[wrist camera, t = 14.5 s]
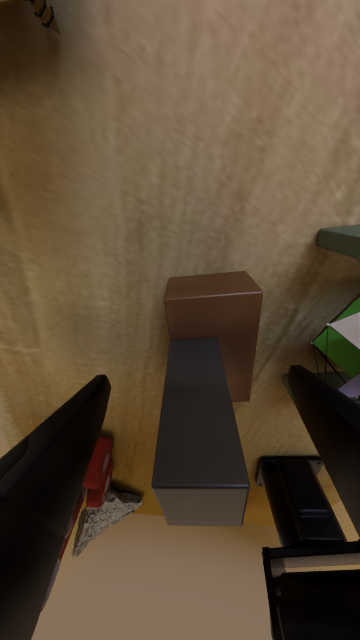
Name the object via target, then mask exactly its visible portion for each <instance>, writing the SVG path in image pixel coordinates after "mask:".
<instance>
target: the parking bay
mask: <svg viewBox="0 0 360 640" xmlns="http://www.w3.org/2000/svg"><path fill="white" fill-rule="evenodd" d="M316 245H317V246H320V247H323V248H326V249H329V250H332V251H335V252H338V253H341V254H344V255H347V256H350V257H353V258H356V259H360V225H354V226H345V227H335V228H325V229H320V231H319V235H318V239H317V244H316ZM338 373H339V375H340V376H341V377H342V378H343V380H344V381H345V382H346V383H347V382H349V381H350V380H351V379H353V378H352V377H351V376H349V375H348V374H347V373H346V372H338ZM314 374H315V375H317V376H318V377H319V376H320V378H321V379H323V380H324V381H325V373H314ZM287 377H288V375H284V378H283V383H284V385H285V387H286V389H287V391H288V393H289V395H290V397H291V399H292V400H293V402H294V404H295V406H296V403H295V401H294V398H293V395H292V392H291V390H290V387H289V384H288V381H287ZM326 382H327V383H329V384H330V385H332V386H333V387H335V388H336V389H339V388H341V387H342V386H343V385H345V383H344V382H343V381H342V379H341V378H340V377H339V376H338V374H337V373H336V372H335V373H326ZM359 396H360V395H359ZM351 399H358V398H351ZM356 402H357V403H359V404H360V401H356ZM296 408H297V406H296ZM297 410H298V409H297Z"/></svg>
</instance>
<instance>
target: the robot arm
mask: <svg viewBox="0 0 360 640" xmlns="http://www.w3.org/2000/svg"><path fill="white" fill-rule="evenodd" d="M287 381H288V384H289V387H290V390H291V392H292V395H293V398H294V401H295V403H296V406H297V409H298V412H299V414H300V416H301V418H302V420H303V423H304V425H305V427H306V429H307V431H308V433H309V435H310V437H311V439H312V441H313V443H314V445H315V447H316V449H317V451H318V453H319V455H320V457H263V458H261V459H260V462H259V467H258V471H257V476H256V480H255V481H256V485H257V486H265V489H266V493H267V496H268V500H269V504H270V507H271V511H272V515H273V518H274V522H275V526H276V529H277V533H278V537H279V540H280V544H281V547H279V548H269V547H263V548H262V550H263V552H262V557H263V565H264V572H265V578H266V586H267V593H268V600H269V608H270V621H271V634H272V639H273V640H360V569H357V570H334V571H313V572H312V571H310V572H287V573H286V570H285V568H296V567H315V566H335V565H354V564H355V565H356V564H360V539H358V541H354V542H348V541H347V539H346V537H345V535H344V533H343V531H342V529H341V526H340V524H339V522H338V520H337V518H336V516H335V514H334V512H333V509H332V507H331V505H330V503H329V501H328V499H327V497H326V495H325V493H324V490H323V488H322V486H321V484H320V482H319V480H318V478H317V474H318V472H319V470H320V469H321V467H322V465H323V464H324V466H325V468H326V470H327V472H328V474H329V476H330V478H331V480H332V482H333V484H334V486H335V488H336V490H337V492H338V494H339V496H340V498H341V500H342V502H343V504H344V507H345V509H346V511H347V513H348V515H349V517H350V519H351V521H352V523H353V525H354V527H355V529H356V531H357V533H358V535H359V537H360V404H359V403H357V402H356V401H354V400H353V399H351V398H350V397H348V396H347V395H345V394H344V393H342V392H341V391H339V390H338V389H336V388H335V387H333V386H332V385H330V384H329V383H327V382H326V381H324V380H323V379H321V378H320V377H318V376H317V375H315V374H314V373H312V372H311V371H309V370H308V369H306V368H305V367H303V366H301V365H292V366H290V369H289V373H288V377H287ZM110 391H111V385H110V382H109V380H108V378H107V376H106V375H97V376H96V377H94V378H93V379H92V380H91V381H90V382H89V383H88V384H86V385H85V386H84V387H83V388H82V389H81V390H79V391H78V392H77V393H76V394H75V395H74V396H73V397H71V398H70V399H69V400H68V401H67V402H66V403H64V404H63V405H62V406H61V407H60V408H59V409H58V410H56V411H55V412H54V413H53V414H52V415H51V416H49V417H48V418H47V419H46V420H45V421H44V422H43V423H41V424H40V425H39V426H38V427H37V428H36V429H34V430H33V431H32V432H31V433H30V434H29V435H27V436H26V437H25V438H24V439H23V440H22V441H21V442H19V443H18V444H17V445H16V446H15V447H13V448H12V449H11V450H10V451H9V452H8V453H6V455H4V456H3V457H1V458H0V640H31V639H32V636H33V633H34V630H35V627H36V624H37V621H38V618H39V615H40V612H41V609H42V606H43V603H44V600H45V597H46V594H47V591H48V588H49V585H50V582H51V579H52V576H53V573H54V570H55V567H56V564H57V561H58V558H59V555H60V552H61V549H62V546H63V543H64V540H65V536H66V533H67V530H68V527H69V524H70V521H71V518H72V515H73V512H74V509H75V506H76V503H77V500H78V497H79V494H80V491H81V488H82V485H83V482H84V479H85V476H86V473H87V470H88V467H89V464H90V461H91V458H92V455H93V452H94V449H95V446H96V443H97V440H98V437H99V434H100V431H101V428H102V425H103V422H104V418H105V414H106V410H107V405H108V401H109V396H110Z"/></svg>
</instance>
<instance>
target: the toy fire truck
mask: <svg viewBox="0 0 360 640" xmlns="http://www.w3.org/2000/svg"><path fill="white" fill-rule="evenodd" d="M112 446H113V442H112V439H111V438H108V437H98V440H97V443H96V446H95V449H94V452H93V455H92V458H91V461H90V464H89V467H88V470H87V473H86V476H85V479H84V482H83V485H82V488H81V491H80V494H79V497H78V500H77V503H76V506H75V509H74V512H73V515H72V518H71V521H70V524H69V527H68V530H67V533H66V536H65V540H64V543H63V546H62V549H61V552H60V555H59V558H58V561H57V564H56V567H55V570H54V573H53V576H52V579H51V582H50V585H49V588H48V591H47V594H46V597H45V600H44V603H43V606H42V609H41V611H42V610H43V608H44V606H45V604H46V602H47V600H48V598H49V595H50V592H51V589H52V587H53V584H54V582H55V579H56V576H57V573H58V570H59V566H60V563H61V559H62V556H63V554H64V551H65V548H66V546H67V543H68V540H69V538H70V535H71V533H72V530H73V527H74V525H75V522H76V520H77V517H78V514H79V511H80V509H81V506H82V504H83V501H84V498H85V496H86V493H87V489H88V493H87V499H86V504H87V506H88V507H92V508H100V507H101V506H102V505H103V504H104V501H105V499H106V496H107V493H108V490H109V486H110V482H111V477H112V471H113V463H112V461H110V457H111V452H112Z"/></svg>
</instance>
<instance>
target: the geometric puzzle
mask: <svg viewBox="0 0 360 640" xmlns="http://www.w3.org/2000/svg"><path fill="white" fill-rule="evenodd" d="M345 309H346V308H345ZM345 309H344V310H345ZM344 310H343V311H344ZM343 311H342V312H343ZM342 312H341V313H342ZM341 313H340V314H341ZM340 314H339V315H340ZM339 315H338V316H339ZM336 317H337V316H336ZM336 317H335V318H336ZM335 318H334V319H335ZM334 319H333V320H334ZM333 320H332V321H333ZM332 321H331V322H332ZM331 322H330V323H327V324H326V327H327V329H326V330H325V331H324V332H323V333H322V332H321V333H322V334H321V333H320V334H321V335H320V334H319V335H320V336H319V335H318V336H319V337H318V336H317V337H318V338H316V339H315V340H314V341H313V342H311V344H312V345H314V346H315V348H316V349H317V350H318V351H319V352H320V350H321V351H322V352H323V353H324V354H325V355H326V358H325V356H324V355H323V354H322V353H321V352H320V354H321V355H322V356H323V357H324V359H325V360H326V362H328V363H329V361H328V360H327V356H328V357H329V358H330V359H331V360H332V361H333V362H335V363H336V364H337V365H338V366H339V367H340V368H341V369H343V370H344V371H345V372H346V373H347V374H348V375H349V376H351V377H352V378H353V379H351V380H350V381H349V382H347V383H346V382H345V381H344V380H343V378H342V377H341V376H340V375H339V373H338V372H337V371H336V370H335V369H334V367H333V366H332V365H331V364H330V363H329V365H330V366H331V367H332V368H333V370H334V371H335V372H336V373H337V374H338V376H339V377H340V378H341V379H342V381H343V382H344V383H345V385H343V386H342V387H341V388H339V389H338V390H339V391H341V392H342V393H344V394H345V395H347V396H348V397H350V398H358V399H353V400H354V401H360V396H359V395H360V296H359V297H358V298H357V299H356V300H355V301H353V302H352V303H351V304H350V305H349V306H348V307H347V309H346V310H345V311H344V312H343V313H342V314H341V315H340V316H339V317H338V318H337V319H336V320H335V321H334V322H332V323H331ZM328 326H329V327H328ZM326 327H325V328H326ZM325 328H324V329H325ZM324 329H323V330H324ZM323 330H322V331H323ZM319 349H320V350H319ZM313 350H314V347H313ZM314 354H315V352H314ZM315 359H316V357H315ZM316 364H317V362H316ZM317 369H318V366H317ZM318 373H319V371H318ZM319 377H320V376H319ZM325 381H326V363H325Z"/></svg>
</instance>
